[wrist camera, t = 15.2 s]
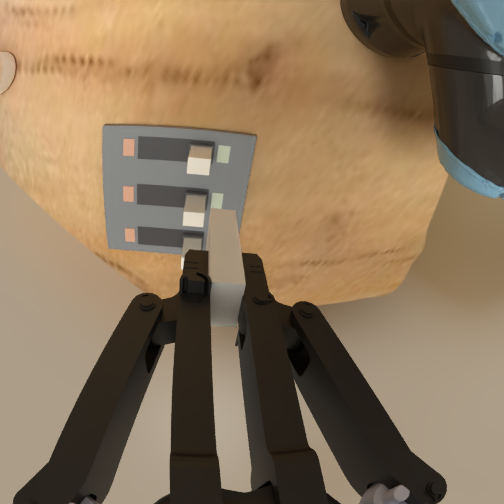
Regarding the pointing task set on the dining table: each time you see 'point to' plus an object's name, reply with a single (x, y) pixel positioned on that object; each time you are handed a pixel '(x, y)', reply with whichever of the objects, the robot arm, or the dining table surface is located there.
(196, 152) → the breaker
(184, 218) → the breaker
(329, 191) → the dining table surface
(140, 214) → the panel
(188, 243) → the breaker
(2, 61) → the water bottle
